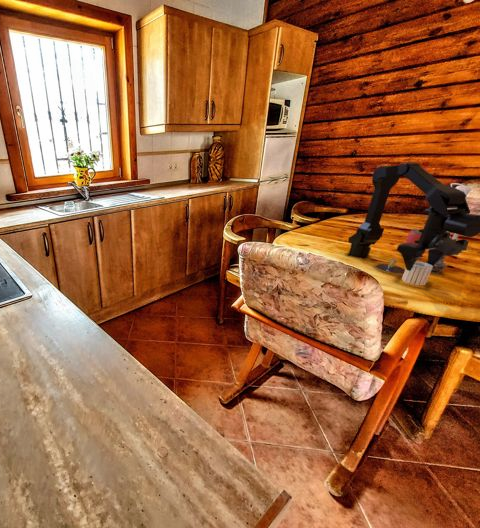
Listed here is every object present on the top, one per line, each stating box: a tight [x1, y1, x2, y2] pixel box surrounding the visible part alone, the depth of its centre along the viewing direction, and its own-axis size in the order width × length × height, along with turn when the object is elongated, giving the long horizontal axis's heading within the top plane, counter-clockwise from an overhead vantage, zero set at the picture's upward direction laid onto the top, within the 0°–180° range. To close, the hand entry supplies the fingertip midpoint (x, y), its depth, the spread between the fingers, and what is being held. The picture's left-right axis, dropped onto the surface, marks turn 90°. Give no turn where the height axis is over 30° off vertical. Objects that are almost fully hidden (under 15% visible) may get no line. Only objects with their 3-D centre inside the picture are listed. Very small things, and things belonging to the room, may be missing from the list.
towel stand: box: [376, 258, 405, 274], centre depth 113 cm, size 9×9×4 cm
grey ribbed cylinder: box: [401, 260, 433, 286], centre depth 102 cm, size 6×6×7 cm
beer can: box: [404, 228, 422, 260], centre depth 122 cm, size 7×7×12 cm
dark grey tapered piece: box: [424, 255, 448, 274], centre depth 108 cm, size 6×6×12 cm
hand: (418, 268), depth 102 cm, fingers open, 9 cm apart
